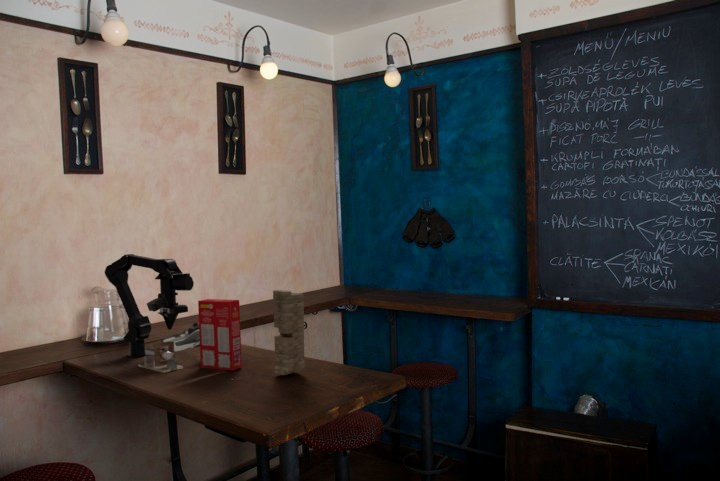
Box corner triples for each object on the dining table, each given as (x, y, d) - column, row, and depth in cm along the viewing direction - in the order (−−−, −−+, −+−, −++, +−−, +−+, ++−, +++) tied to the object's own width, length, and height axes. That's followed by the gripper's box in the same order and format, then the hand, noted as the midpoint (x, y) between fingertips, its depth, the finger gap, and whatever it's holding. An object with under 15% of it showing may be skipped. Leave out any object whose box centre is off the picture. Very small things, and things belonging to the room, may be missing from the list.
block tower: (307, 371, 207) (304, 289, 207) (288, 376, 201) (284, 291, 201) (293, 368, 213) (290, 288, 212) (274, 373, 207) (271, 290, 206)
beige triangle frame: (154, 366, 217) (153, 344, 217) (171, 362, 223) (170, 340, 223) (157, 366, 216) (156, 344, 216) (174, 362, 221) (173, 341, 221)
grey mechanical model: (138, 366, 224) (137, 349, 224) (157, 362, 230) (156, 345, 230) (163, 372, 213) (163, 354, 212) (183, 368, 219) (182, 350, 219)
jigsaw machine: (171, 366, 245) (174, 344, 240) (159, 352, 251) (162, 330, 246) (213, 353, 259) (217, 332, 254) (201, 340, 265) (204, 319, 260)
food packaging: (241, 367, 218) (239, 300, 217) (233, 370, 213) (230, 301, 212) (210, 364, 224) (207, 299, 223) (200, 367, 219) (198, 300, 218)
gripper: (137, 291, 234) (138, 330, 234) (162, 294, 222) (164, 335, 222) (162, 288, 243) (163, 326, 243) (188, 290, 230) (189, 330, 231)
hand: (169, 329), depth 235 cm, fingers closed
